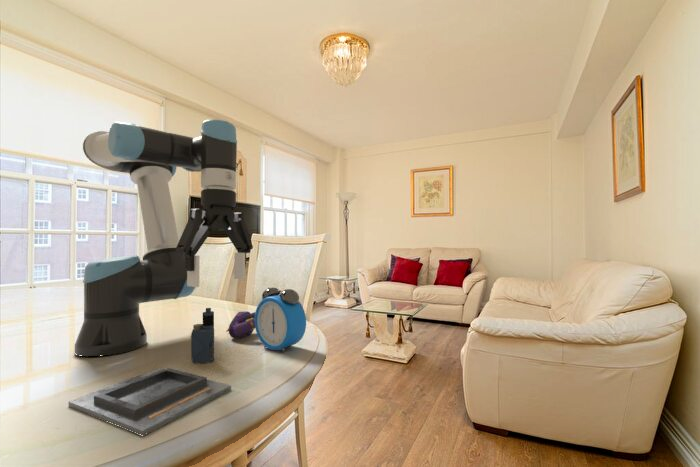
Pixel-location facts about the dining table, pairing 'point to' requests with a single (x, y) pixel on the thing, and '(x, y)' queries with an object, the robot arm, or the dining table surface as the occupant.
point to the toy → (242, 324)
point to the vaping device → (203, 339)
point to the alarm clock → (280, 319)
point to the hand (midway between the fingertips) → (218, 282)
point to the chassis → (150, 399)
